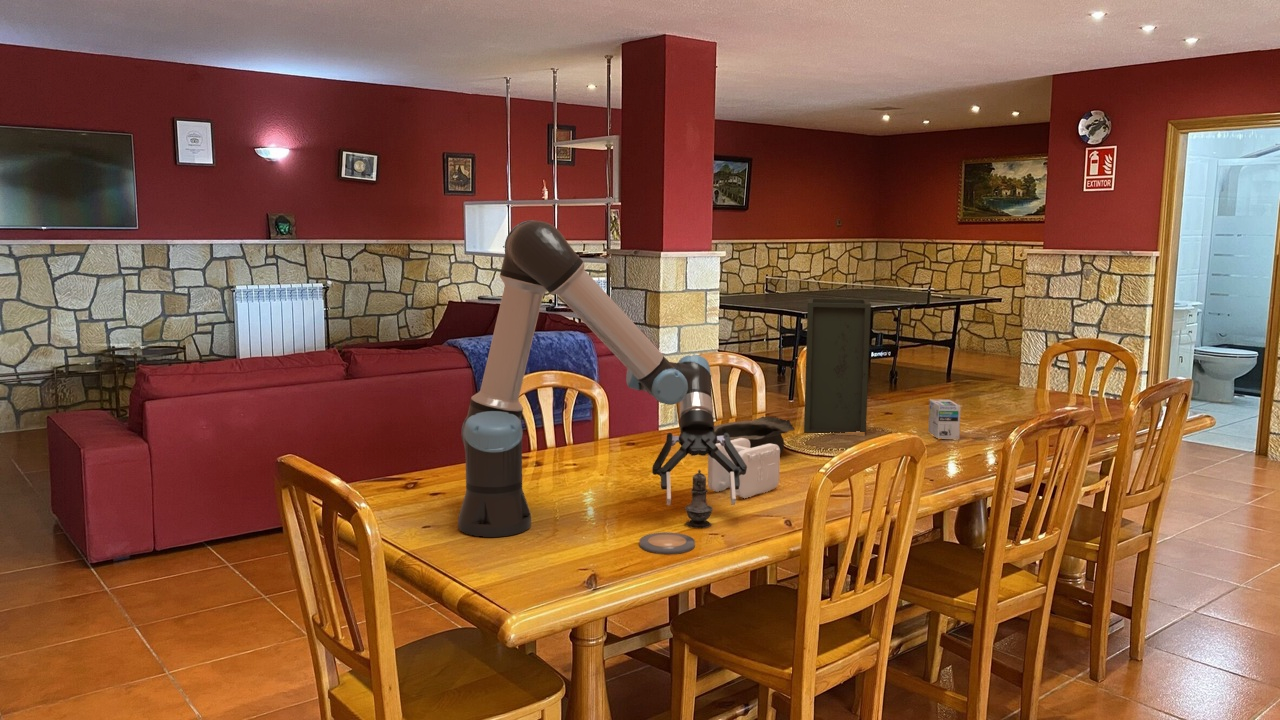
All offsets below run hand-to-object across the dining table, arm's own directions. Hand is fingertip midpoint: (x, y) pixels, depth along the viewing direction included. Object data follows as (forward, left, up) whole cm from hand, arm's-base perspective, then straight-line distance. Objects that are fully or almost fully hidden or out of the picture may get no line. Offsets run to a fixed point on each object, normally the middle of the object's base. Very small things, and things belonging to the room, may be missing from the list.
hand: (701, 502), depth 204 cm
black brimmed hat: (-49, +49, -6) cm, 70 cm away
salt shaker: (-1, 0, -5) cm, 6 cm away
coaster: (+7, -13, -5) cm, 15 cm away
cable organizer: (-17, +24, -6) cm, 30 cm away
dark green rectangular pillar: (-61, +92, -5) cm, 111 cm away
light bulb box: (-36, +113, -6) cm, 119 cm away
